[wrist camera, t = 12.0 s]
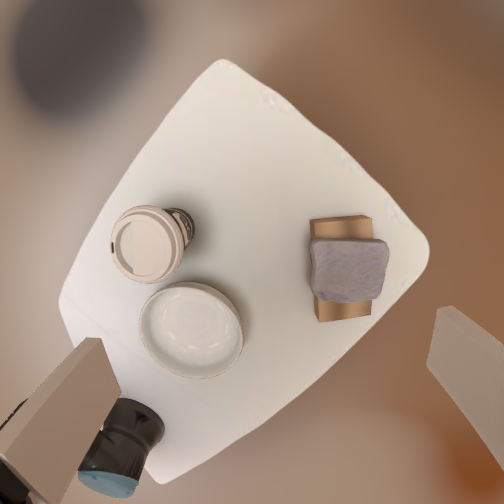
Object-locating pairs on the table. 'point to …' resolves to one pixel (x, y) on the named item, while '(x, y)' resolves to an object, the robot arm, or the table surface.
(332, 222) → the walnut plinth
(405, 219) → the table surface
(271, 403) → the table surface
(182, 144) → the table surface
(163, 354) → the cereal bowl
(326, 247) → the stone block
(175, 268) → the coffee cup
